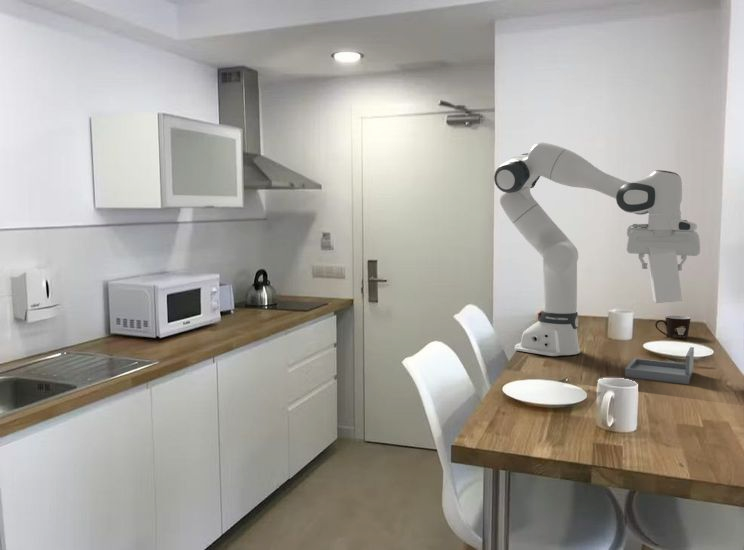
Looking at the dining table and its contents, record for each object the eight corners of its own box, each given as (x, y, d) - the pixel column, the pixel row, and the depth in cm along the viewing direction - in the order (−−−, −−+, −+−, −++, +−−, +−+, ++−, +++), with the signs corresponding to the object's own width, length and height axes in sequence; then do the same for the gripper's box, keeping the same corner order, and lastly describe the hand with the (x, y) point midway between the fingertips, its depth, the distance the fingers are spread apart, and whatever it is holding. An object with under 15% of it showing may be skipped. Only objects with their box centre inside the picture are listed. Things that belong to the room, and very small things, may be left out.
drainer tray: (624, 376, 182) (625, 350, 182) (633, 365, 196) (634, 341, 195) (688, 384, 173) (689, 356, 173) (693, 372, 187) (694, 346, 186)
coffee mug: (690, 342, 233) (691, 316, 232) (688, 346, 225) (689, 319, 224) (657, 339, 239) (658, 314, 238) (654, 343, 232) (655, 317, 231)
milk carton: (682, 301, 181) (674, 238, 181) (656, 303, 183) (648, 241, 183) (678, 299, 188) (670, 238, 187) (653, 301, 190) (646, 241, 190)
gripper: (625, 223, 187) (623, 268, 189) (700, 224, 176) (697, 272, 178) (629, 223, 193) (627, 267, 194) (702, 224, 182) (699, 270, 183)
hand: (661, 269), depth 186 cm, fingers closed on milk carton, 8 cm apart
